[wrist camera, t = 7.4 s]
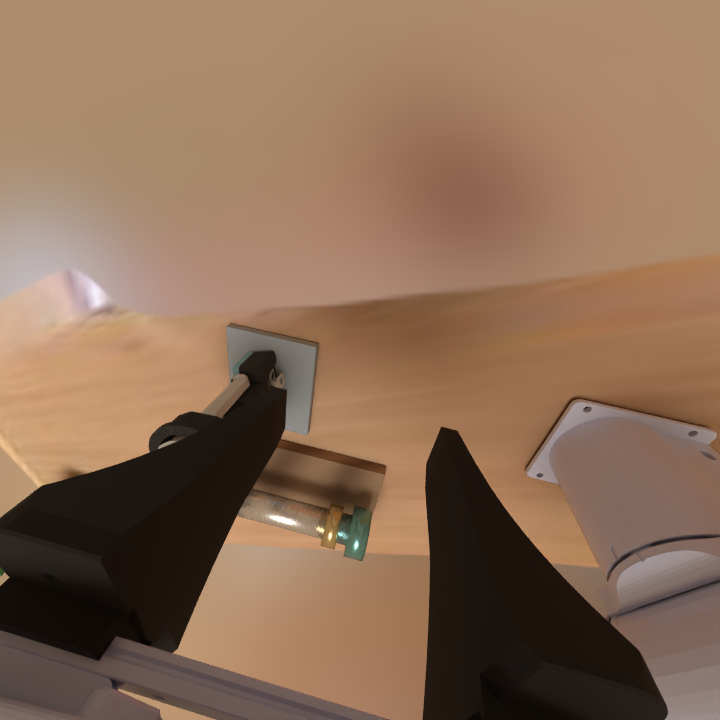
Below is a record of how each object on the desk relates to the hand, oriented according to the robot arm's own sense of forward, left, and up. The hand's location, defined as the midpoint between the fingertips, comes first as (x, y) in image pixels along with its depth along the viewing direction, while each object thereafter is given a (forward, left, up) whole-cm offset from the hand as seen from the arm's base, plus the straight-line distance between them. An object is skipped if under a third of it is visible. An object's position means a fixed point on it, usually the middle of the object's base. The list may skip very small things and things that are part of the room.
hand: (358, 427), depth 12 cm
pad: (+8, +7, -10) cm, 15 cm away
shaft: (+5, +18, -8) cm, 20 cm away
